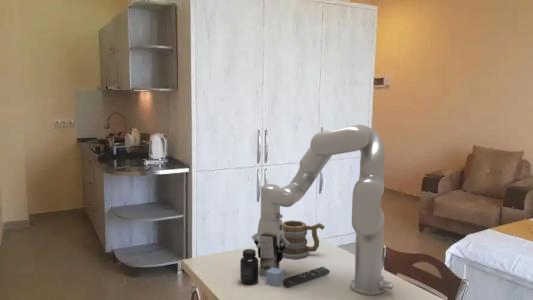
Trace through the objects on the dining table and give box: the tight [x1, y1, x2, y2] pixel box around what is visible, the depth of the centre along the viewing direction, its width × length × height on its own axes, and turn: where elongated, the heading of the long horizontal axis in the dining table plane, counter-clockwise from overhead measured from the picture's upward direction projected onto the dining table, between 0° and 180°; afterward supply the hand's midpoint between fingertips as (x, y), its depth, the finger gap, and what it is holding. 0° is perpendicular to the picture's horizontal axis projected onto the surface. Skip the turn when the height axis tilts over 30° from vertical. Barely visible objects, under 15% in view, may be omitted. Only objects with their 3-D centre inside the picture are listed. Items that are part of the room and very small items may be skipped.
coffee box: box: [259, 234, 280, 277], centre depth 174 cm, size 9×6×16 cm
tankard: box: [282, 220, 325, 260], centre depth 193 cm, size 20×13×15 cm, turn 73°
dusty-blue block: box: [265, 267, 285, 288], centre depth 164 cm, size 5×5×5 cm
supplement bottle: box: [239, 248, 259, 286], centre depth 165 cm, size 7×7×12 cm
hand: (270, 258), depth 174 cm, fingers closed on coffee box, 7 cm apart
